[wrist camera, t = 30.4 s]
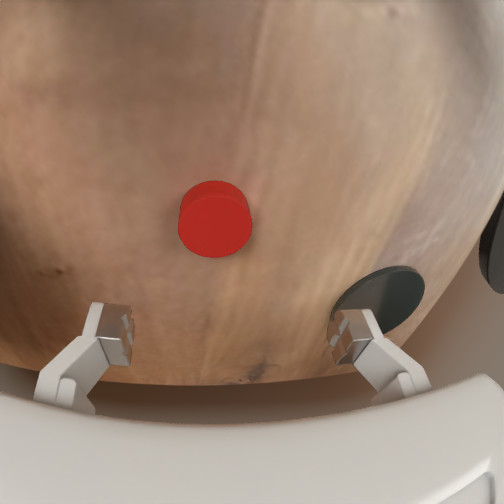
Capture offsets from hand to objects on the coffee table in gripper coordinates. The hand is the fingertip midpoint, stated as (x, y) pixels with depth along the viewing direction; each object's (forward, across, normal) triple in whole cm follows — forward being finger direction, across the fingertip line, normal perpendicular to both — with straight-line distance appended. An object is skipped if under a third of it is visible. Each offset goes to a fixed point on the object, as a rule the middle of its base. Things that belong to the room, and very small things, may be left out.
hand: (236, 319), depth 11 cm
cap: (+7, +1, 0) cm, 7 cm away
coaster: (+9, -15, +9) cm, 20 cm away
